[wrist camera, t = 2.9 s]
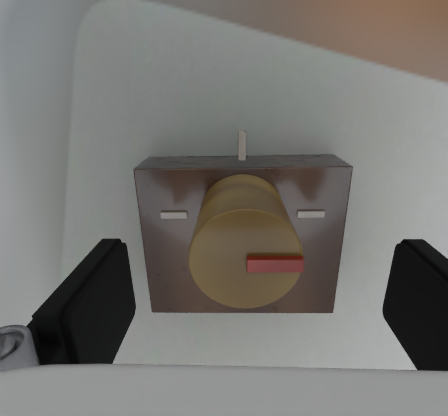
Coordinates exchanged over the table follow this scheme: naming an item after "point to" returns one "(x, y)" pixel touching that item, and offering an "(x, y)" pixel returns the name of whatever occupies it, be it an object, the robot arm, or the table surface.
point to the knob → (244, 244)
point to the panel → (189, 210)
